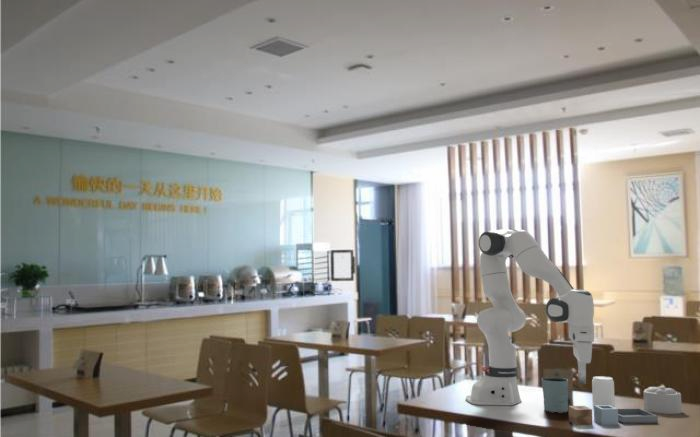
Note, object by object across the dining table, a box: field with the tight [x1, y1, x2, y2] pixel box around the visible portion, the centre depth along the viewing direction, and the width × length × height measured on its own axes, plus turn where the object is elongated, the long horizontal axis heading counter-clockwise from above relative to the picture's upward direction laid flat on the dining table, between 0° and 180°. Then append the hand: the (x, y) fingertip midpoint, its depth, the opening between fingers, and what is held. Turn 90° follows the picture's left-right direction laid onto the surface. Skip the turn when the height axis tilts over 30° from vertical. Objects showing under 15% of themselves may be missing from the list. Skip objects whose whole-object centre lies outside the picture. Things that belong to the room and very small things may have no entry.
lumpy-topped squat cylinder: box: [643, 385, 683, 415], centre depth 244 cm, size 10×13×9 cm
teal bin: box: [541, 376, 569, 414], centre depth 245 cm, size 10×10×12 cm
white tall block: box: [591, 375, 616, 408], centre depth 247 cm, size 8×8×12 cm
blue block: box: [593, 405, 619, 426], centre depth 226 cm, size 6×6×6 cm
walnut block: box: [568, 405, 593, 426], centre depth 225 cm, size 6×6×6 cm
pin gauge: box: [577, 360, 587, 385], centre depth 229 cm, size 3×3×9 cm
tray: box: [617, 407, 659, 425], centre depth 230 cm, size 13×12×2 cm
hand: (581, 372), depth 229 cm, fingers closed on pin gauge, 3 cm apart
